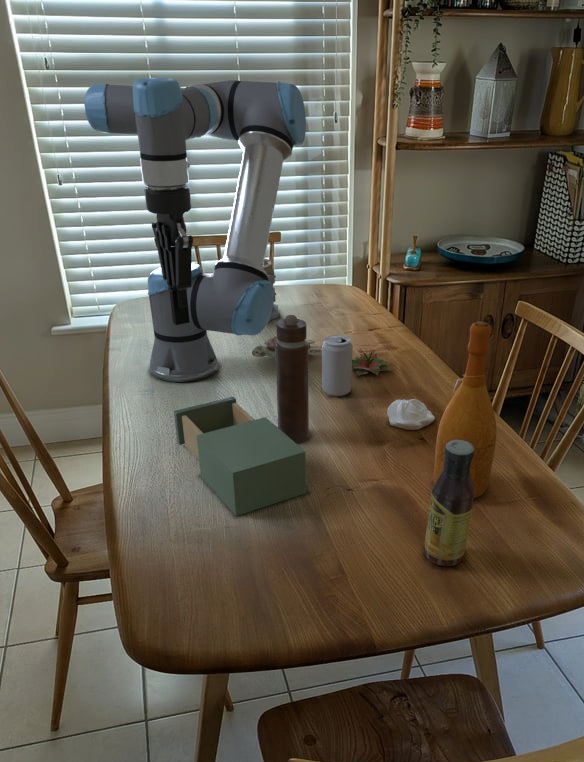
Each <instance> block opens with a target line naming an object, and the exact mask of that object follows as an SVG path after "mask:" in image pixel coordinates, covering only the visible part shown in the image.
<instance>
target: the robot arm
mask: <svg viewBox="0 0 584 762" xmlns="http://www.w3.org/2000/svg"><path fill="white" fill-rule="evenodd" d="M83 102H84V103H83V104H84V114H85V117H86V120H87V122H88V124H89V126H90V127H91V128H92V129H93V130H95V131H96V132H97V133H98V132H99V133H105V134H109V135H128V136H129V135H132V136H137V140H138V146H139V156H140V157H139V160H140V161H139V162H140V170H141V171H140V172H141V178H142V184H144V185H145V188H144V191H143V192H144V199H145V207H146V210H147V211H148V212H149V213H152V214H154V215H156V216H155V217H156V221H154V222H151V228H152V231H153V235H154V238H155V244H156V249H157V254H158V259H159V264H160V267H158V268H156V269H154V270H152V271H151V272H150V274H149V275H148V277H147V295H148V299H149V300H148V301H149V306H150V307H149V308H150V314H151V321H152V328H153V336H154V340H153V345H152V350H151V354H150V359H149V367H150V368H149V369H150V373H151V375H152V376H154V377H155V378H157V379H159V380H161V381H164V382H165V381H166V382H171V383H172V382H173V383H188V382H195V381H199V380H203V379H205V378H208V377H210V376H212V375H213V374H215V373H216V372H217V370H218V367H219V365H218V358H217V355H216V352H215V350H214V348H213V346H212V343H211V341H210V338H209V336H208V332H216V333H224V334H232V335H235V336H256V335H259V334H260V333H262V331H264V330H265V329H266V327H267V325H268V324H269V322H270V320H269V319H270V316H271V313H272V310H273V304H275V302H274V300H273V298H274V290H273V287H274V285H273V286H272V285H271V283H270V282H268V275H267V273H266V272H265V270H264V269H263V265H264V260H265V259H266V254H267V249H268V243H269V238H270V232H271V227H272V222H273V217H274V212H275V208H276V207H275V206H276V201H277V195H278V191H279V185H280V179H281V175H282V169H283V164H284V162H286V161H288V160H289V159H290V158H291V157H292V154H293V149H294V146H295V147H298V146H301V145H303V144H304V142H305V139H306V132H307V117H306V115H307V114H306V107H305V102H304V98H303V95H302V93H301V91H300V89H299V88H298V86H297V85H296V84H294V83H290V82H289V83H287V82H281V81H279V80H277V81H276V82H274V81H273V82H269V81H254V80H253V81H252V80H238V79H237V80H235V79H231V80H230V79H229V80H220V81H215V82H208V83H207V82H206V83H193V84H191V85H188V86H185V87H181V84H180V82H179V81H178V80H177V79H176V78H171V77H141V78H137V79H136V80H134V82H133V83H132V85H125V84H124V85H123V84H122V85H121V84H109V83H103V84H93V85H91V86H89V87H88V89H87V90H86V92H85V95H84V101H83ZM204 136H208V137H213V138H218V139H223V140H227V141H232V142H233V141H234V142H238V145H239V147H240V148H241V149H242V152H243V154H242V160H241V165H240V169H239V175H238V179H237V180H238V181H237V185H236V190H235V191H236V192H235V197H234V201H233V207H232V212H231V218H230V221H229V222H230V223H229V229H228V233H227V237H226V238H227V239H226V243H225V249H224V254H223V257H222V258H221V259H220V260H218V261H216V262H215V264H214V268H213V273H212V274H204V273H203V269H202V266H201V265H200V264H198V263H195V262H192V261H193V259H192V255H193V254H192V250H193V249H192V248H193V243H194V237H193V236H192V235H187V225H186V222H185V219H184V214H185V213H188V212H190V211H191V209H192V197H191V188H190V187H189V185H187V184H189V183H190V179H189V168H190V167H191V164H190V162H189V161H188V154H187V143H186V141H189V140H192V139H195V138H202V137H204ZM207 331H208V332H207Z"/></svg>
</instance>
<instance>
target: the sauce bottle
mask: <svg viewBox="0 0 584 762" xmlns="http://www.w3.org/2000/svg"><path fill="white" fill-rule="evenodd" d="M444 454H445V460H444V467H443V470H442V472H441V474H440V476H439V478H438V479H437V481H436V483H435V485H434V484H433V487H432V488H431V491H430V501H429V505H428V513H427V515H428V516H427V523H426V531H425V540H424V548H425V549H424V554H425V555H424V556H426V558H427V560H429V561H430V562H431V563H432V564H434V565H436V566H442V567H452V566H455V565H458V564H459V563H461V562H462V561H463V558H464V554H465V552H466V547H467V542H468V536H469V531H470V524H471V519H472V515H473V508H474V499H475V498H474V492H475V489H474V484H473V481H472V479H471V478H470V476H469V474H470V466H471V460H472V458H473V457H474V447H473V445H472V444H471V443H469V442H466V441H463V440H453V441H450V442H448V443H447V444H446V446H445V451H444Z"/></svg>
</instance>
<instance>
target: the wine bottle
mask: <svg viewBox="0 0 584 762" xmlns="http://www.w3.org/2000/svg"><path fill="white" fill-rule="evenodd" d="M492 332H493V329H492V325H491V324H489V323H488V322H485V321H476V322H475V321H474V323H472V324H471V325H470V327H469V340H468V344H467V351H468V359H467V363H466V368H465V372H464V374H462V376H463V377H461V378H457V379H456V382H455V384H454V387H453V392H452V393H454V394H453V396H452V397H451V399H450V400H449V402H448V404H447V405H446V408H445V410H444V411H443V414H442V416H441V419H440V421H439V426H438V429H437V435H436V443H435V453H434V466H433V467H434V468H433V486H434V485H435V483H436V481H437V479H438V478H439V476H440V474H441V472H442V470H443V467H444V460H445V454H444V451H445V446H446V444H447V443H448V442H450V441H453V440H463V441H466V442H469V443H471V444H472V445H473V447H474V457H473V458H472V460H471V466H470V474H469V476H470V478H471V479H472V481H473V484H474V489H475V492H474V498H473V499H477V498H479V497H480V496H483V494H485V492H486V491H487V489H488V486H489V482H490V478H491V473H492V467H493V461H494V456H495V450H496V443H497V428H498V427H497V419H496V415H495V414H496V413H495V411H494V407H493V403H492V400H491V397H490V394H489V392H488V387H487V383H486V372H485V371H486V370H485V368H486V361H487V354H488V353H489V350H490V340H491V336H492Z"/></svg>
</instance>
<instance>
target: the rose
mask: <svg viewBox="0 0 584 762" xmlns="http://www.w3.org/2000/svg"><path fill="white" fill-rule="evenodd" d="M386 413H387V417H388V422H389V424H390V426H392V427H396V428H399V429H403V430H409V431H410V430H411V431H412V430H413V431H415V430H420V429H422V428H424V427H427V426H429V425H430V424H432V423H433V422H434V421H435V419H436V417H435V415H433V413H432V412H431V410H429V409H428V407H427V405H426V404H425V403H423V402H422V401H420V400H419V399H417V398H412V399H395V400H394V401H392V402H391V403H390V404H389V406H388V408H387V412H386Z"/></svg>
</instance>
